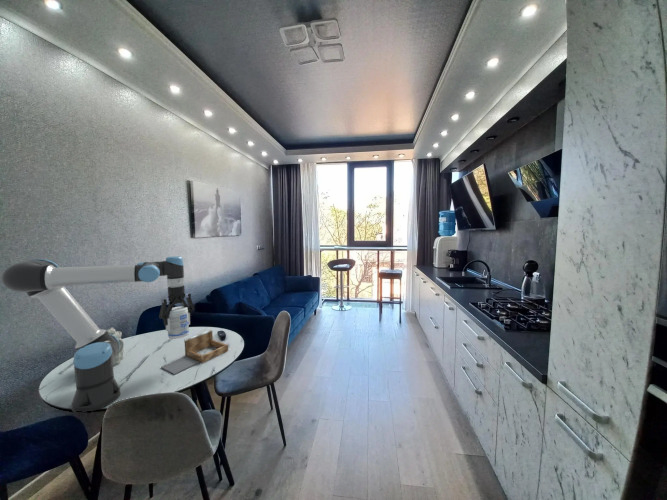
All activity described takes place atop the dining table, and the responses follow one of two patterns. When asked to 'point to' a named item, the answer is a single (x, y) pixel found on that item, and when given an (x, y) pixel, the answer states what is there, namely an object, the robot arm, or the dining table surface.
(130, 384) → the dining table surface
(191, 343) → the frame
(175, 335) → the supplement tub
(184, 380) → the dining table surface
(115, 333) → the beige lumpy upright piece
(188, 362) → the mat
